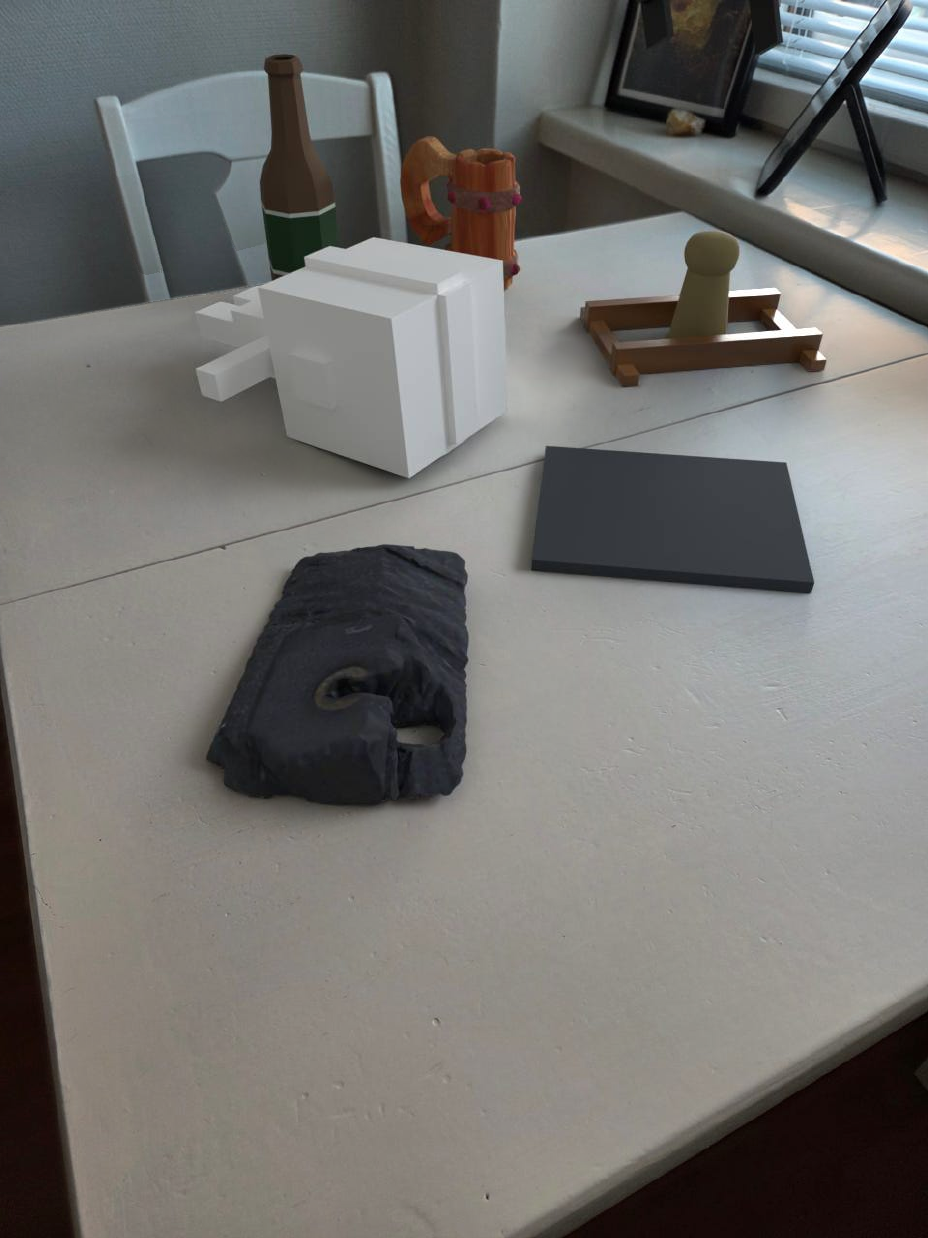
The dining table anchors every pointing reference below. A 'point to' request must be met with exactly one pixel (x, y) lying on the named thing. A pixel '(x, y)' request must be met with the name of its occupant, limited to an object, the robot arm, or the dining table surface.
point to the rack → (702, 350)
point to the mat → (670, 519)
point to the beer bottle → (293, 176)
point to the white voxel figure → (371, 350)
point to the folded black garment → (353, 681)
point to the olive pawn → (705, 285)
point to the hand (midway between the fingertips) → (716, 46)
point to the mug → (464, 201)
